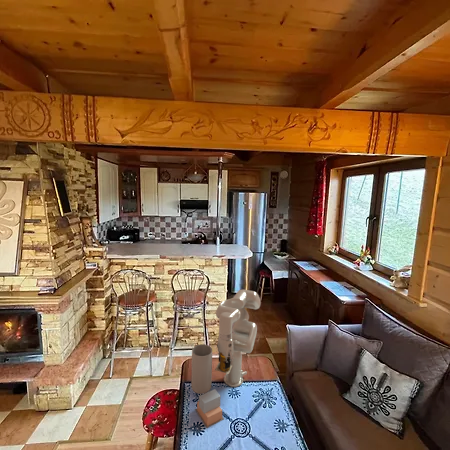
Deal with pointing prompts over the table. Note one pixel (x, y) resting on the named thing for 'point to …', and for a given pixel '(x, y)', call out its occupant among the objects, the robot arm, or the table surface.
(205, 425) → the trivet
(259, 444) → the table surface
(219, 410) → the brick
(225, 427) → the table surface
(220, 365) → the condiment
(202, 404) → the brick
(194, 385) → the cylinder vase
